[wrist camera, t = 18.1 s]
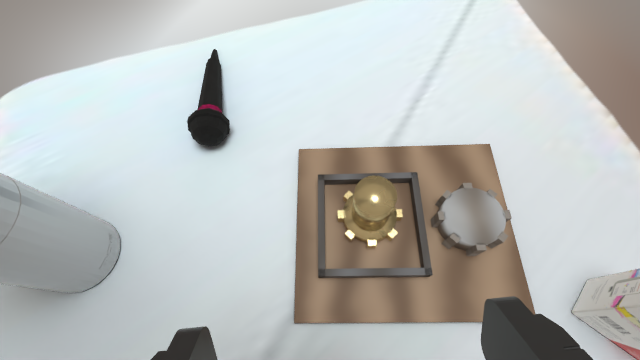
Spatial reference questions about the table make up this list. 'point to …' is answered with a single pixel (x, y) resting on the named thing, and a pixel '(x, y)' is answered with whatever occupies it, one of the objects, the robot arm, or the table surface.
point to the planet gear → (371, 211)
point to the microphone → (210, 108)
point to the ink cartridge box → (613, 308)
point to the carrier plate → (406, 238)
